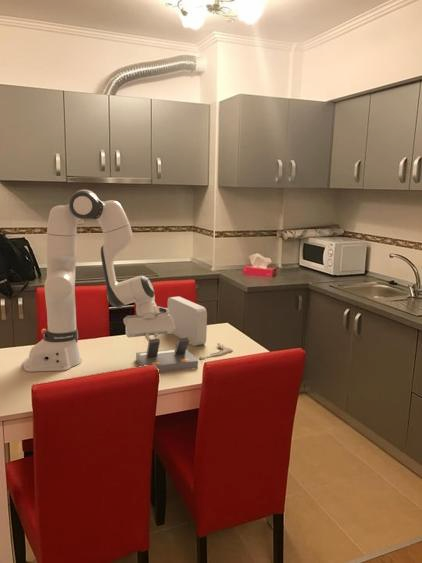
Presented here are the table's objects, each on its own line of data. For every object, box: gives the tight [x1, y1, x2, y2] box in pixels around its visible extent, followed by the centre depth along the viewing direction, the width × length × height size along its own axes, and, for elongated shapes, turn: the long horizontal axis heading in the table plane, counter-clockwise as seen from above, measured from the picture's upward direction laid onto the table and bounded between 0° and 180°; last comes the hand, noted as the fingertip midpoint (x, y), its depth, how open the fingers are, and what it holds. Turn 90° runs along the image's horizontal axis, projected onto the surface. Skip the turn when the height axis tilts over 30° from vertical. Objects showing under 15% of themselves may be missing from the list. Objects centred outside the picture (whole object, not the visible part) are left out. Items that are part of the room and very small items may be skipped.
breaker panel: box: [135, 348, 199, 374], centre depth 191 cm, size 22×16×3 cm
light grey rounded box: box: [167, 296, 208, 347], centre depth 224 cm, size 29×8×18 cm, turn 33°
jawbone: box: [198, 342, 234, 361], centre depth 204 cm, size 9×20×2 cm, turn 155°
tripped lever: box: [146, 338, 161, 358], centre depth 187 cm, size 5×2×10 cm
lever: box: [174, 337, 189, 355], centre depth 191 cm, size 5×2×10 cm
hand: (153, 344), depth 187 cm, fingers closed, pressing on tripped lever
